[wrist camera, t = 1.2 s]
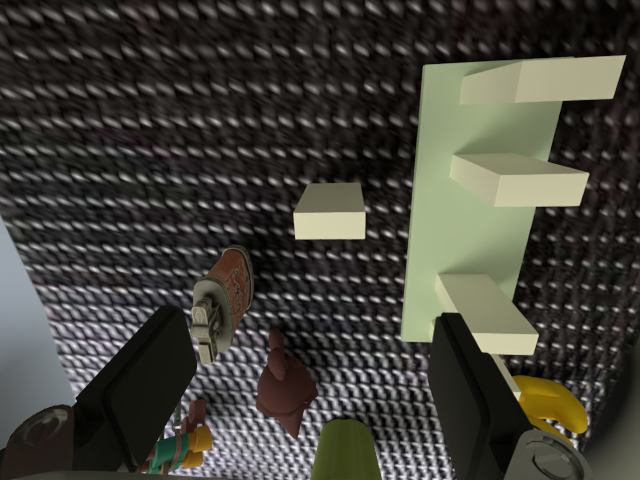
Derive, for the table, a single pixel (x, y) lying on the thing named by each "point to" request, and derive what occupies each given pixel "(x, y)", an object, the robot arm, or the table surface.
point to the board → (466, 190)
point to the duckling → (550, 405)
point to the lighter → (221, 302)
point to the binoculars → (181, 443)
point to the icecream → (284, 386)
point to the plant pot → (345, 452)
